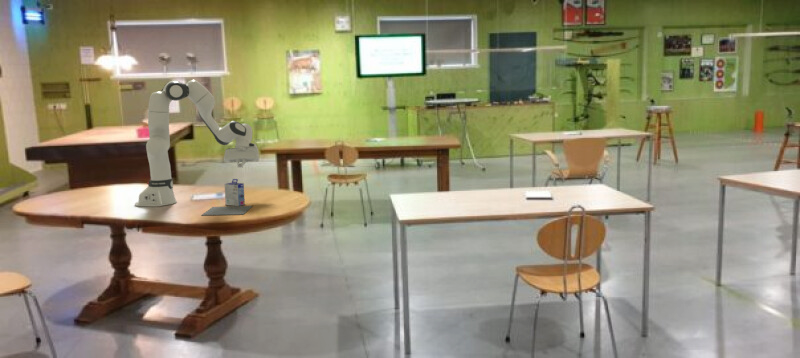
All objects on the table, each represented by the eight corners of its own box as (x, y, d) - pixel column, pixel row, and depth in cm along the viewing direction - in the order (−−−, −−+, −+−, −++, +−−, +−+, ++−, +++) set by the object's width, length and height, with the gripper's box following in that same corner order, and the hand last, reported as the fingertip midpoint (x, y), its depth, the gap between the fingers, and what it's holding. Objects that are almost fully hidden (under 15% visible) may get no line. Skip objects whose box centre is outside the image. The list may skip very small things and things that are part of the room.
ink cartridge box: (245, 204, 360) (243, 179, 357) (239, 206, 355) (237, 180, 353) (231, 203, 364) (229, 178, 362) (225, 205, 359) (223, 179, 357)
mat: (201, 215, 334) (201, 214, 334) (212, 207, 354) (212, 206, 354) (243, 214, 334) (243, 213, 334) (252, 206, 354) (252, 205, 353)
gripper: (224, 145, 377) (220, 164, 369) (258, 144, 377) (256, 163, 369) (226, 151, 382) (223, 170, 374) (260, 150, 382) (258, 169, 374)
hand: (240, 166), depth 371 cm, fingers closed
